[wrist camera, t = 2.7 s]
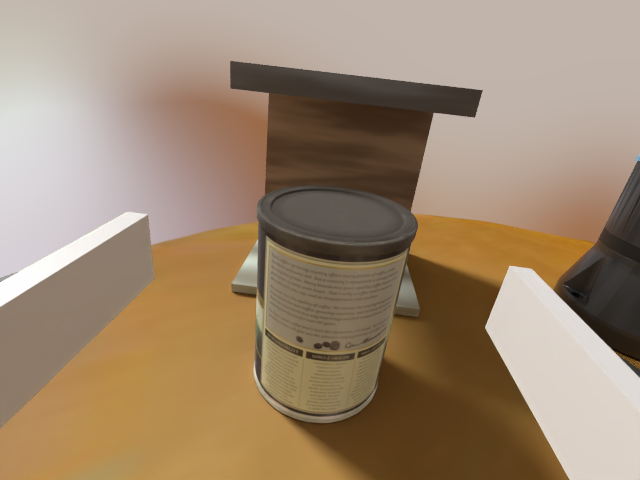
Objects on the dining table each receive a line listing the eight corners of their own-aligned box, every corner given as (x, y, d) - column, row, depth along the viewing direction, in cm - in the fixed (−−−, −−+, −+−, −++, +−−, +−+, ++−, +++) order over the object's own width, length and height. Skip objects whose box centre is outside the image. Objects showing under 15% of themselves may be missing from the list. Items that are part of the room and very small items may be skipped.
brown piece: (418, 317, 36) (482, 90, 27) (231, 291, 36) (230, 61, 27) (399, 249, 50) (436, 87, 41) (265, 232, 51) (272, 68, 42)
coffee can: (233, 348, 29) (232, 189, 23) (331, 315, 35) (351, 180, 29) (291, 453, 22) (312, 257, 16) (405, 390, 27) (453, 227, 21)
